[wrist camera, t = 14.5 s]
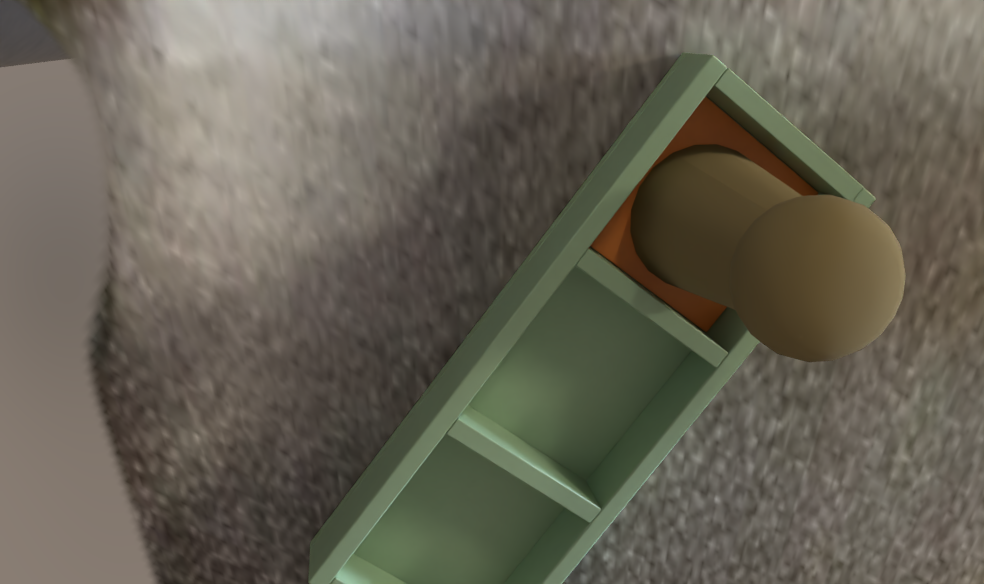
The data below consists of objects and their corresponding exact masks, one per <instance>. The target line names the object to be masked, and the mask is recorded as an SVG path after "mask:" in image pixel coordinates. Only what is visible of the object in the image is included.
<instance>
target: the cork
mask: <svg viewBox="0 0 984 584" xmlns="http://www.w3.org/2000/svg"><path fill="white" fill-rule="evenodd" d="M630 233H631V236H632V240H633V244H634V247H635V251H636V254H637V255H638V257H639V258H640V259H641V261H642V262H643V264H644V265H645V267H646V268H647V269H648V271H649V272H651V273H652V274H654V275H655V276H656V277H658V278H659V279H661V280H662V281H664V282H665V283H667V284H670V285H672V286H675V287H677V288H680V289H682V290H685V291H688V292H690V293H693V294H695V295H698V296H700V297H703V298H706V299H708V300H711V301H713V302H716V303H719V304H721V305H724V306H726V307H729V308H731V309H734V310H736V312H737V314H738V316H739V317H740V319H741V320H742V322H743V323H744V325H745V326H746V328H747V329H748V331H749V332H750V334H751V335H752V336H754V337H755V338H756V339H757V340H759V341H760V342H761V343H763V344H764V345H766V346H767V347H769V348H770V349H771V350H773V351H774V352H776V353H777V354H780V355H784V356H787V357H791V358H795V359H798V360H802V361H807V362H819V361H833V360H836V359H838V358H841V357H844V356H846V355H849V354H851V353H854V352H857V351H859V350H861V349H863V348H864V347H866V346H867V345H868V344H870V343H871V342H872V341H874V340H875V339H876V338H878V337H879V336H880V335H881V334H882V332H883V331H884V330H885V329H886V327H887V326H888V325H889V324H890V322H891V321H892V320H893V319H894V316H895V314H896V312H897V310H898V307H899V305H900V303H901V301H902V298H903V292H904V285H905V278H906V274H905V267H904V262H903V256H902V250H901V246H900V244H899V242H898V241H897V239H896V237H895V235H894V234H893V232H892V230H891V228H890V227H889V226H888V225H887V224H886V223H885V222H884V221H883V220H882V219H881V218H879V217H878V216H877V215H876V214H874V213H873V212H872V211H871V210H869V209H868V208H867V207H866V206H865V205H862V204H859V203H856V202H853V201H850V200H847V199H843V198H840V197H837V196H834V195H808V196H802V195H801V194H799V193H798V192H796V191H795V190H793V189H792V188H790V187H789V186H788V185H786V184H785V183H783V182H782V181H780V180H779V179H777V178H776V177H775V176H773V175H772V174H770V173H769V172H767V171H766V170H764V169H763V168H761V167H760V166H759V165H757V164H756V163H754V162H753V161H751V160H750V159H748V158H747V157H746V156H744V155H743V154H741V153H740V152H738V151H736V150H733V149H730V148H727V147H724V146H721V145H718V144H709V145H693V146H690V147H687V148H684V149H682V150H679V151H676V152H673V153H672V154H670V155H669V156H668V157H666V158H665V159H664V160H662V161H661V162H660V163H658V164H657V165H656V166H655V167H653V169H652V170H651V171H650V173H649V174H648V175H647V177H646V178H645V180H644V181H643V182H642V184H641V185H640V186H639V189H638V192H637V194H636V197H635V200H634V203H633V206H632V209H631V227H630Z"/></svg>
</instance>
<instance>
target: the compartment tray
mask: <svg viewBox="0 0 984 584" xmlns="http://www.w3.org/2000/svg"><path fill="white" fill-rule="evenodd" d="M709 144H718V145H721V146H724V147H727V148H730V149H733V150H736V151H738V152H740V153H741V154H743V155H744V156H746V157H747V158H748V159H750V160H751V161H753V162H754V163H756V164H757V165H759V166H760V167H761V168H763V169H764V170H766V171H767V172H769V173H770V174H772V175H773V176H775V177H776V178H777V179H779V180H780V181H782V182H783V183H785V184H786V185H788V186H789V187H790V188H792V189H793V190H795V191H796V192H798V193H799V194H801V195H802V196H808V195H834V196H837V197H840V198H843V199H847V200H850V201H853V202H856V203H859V204H862V205H865V206H866V207H867V208H869V207H870V206H871V205H872V204H873V202H874V201H875V199H876V198H875V197H874V196H873V195H872V194H871V193H870V192H869V191H867V190H866V189H865V188H863V186H862V185H861V184H860V183H859V182H858V181H856V180H855V179H854V178H853V177H852V176H851V175H850V174H848V173H847V172H846V171H845V170H844V169H843V168H842V167H840V166H839V165H838V164H837V163H836V162H835V161H834V160H833V159H831V158H830V157H829V156H828V155H827V154H826V153H825V152H823V151H822V150H821V149H820V148H819V147H818V146H817V145H815V144H814V143H813V142H812V141H811V140H810V139H809V138H807V137H806V136H805V135H804V134H803V133H802V132H801V131H800V130H798V129H797V128H796V127H795V126H794V125H793V124H792V123H790V122H789V121H788V120H787V119H786V118H785V117H784V116H782V115H781V114H780V113H779V112H778V111H777V110H776V109H774V108H773V107H772V106H771V105H770V104H769V103H768V102H767V101H765V100H764V99H763V98H762V97H761V96H760V95H759V94H757V93H756V92H755V91H754V90H753V89H752V88H751V87H749V86H748V85H747V84H746V83H745V82H744V81H743V80H741V79H740V78H739V77H738V76H737V75H736V74H735V73H734V72H732V71H731V70H730V69H729V68H727V67H726V66H725V65H724V64H723V63H722V62H721V61H719V60H718V59H717V58H716V57H715V56H714V55H707V54H694V53H684V52H683V53H682V54H681V55H680V57H679V58H678V59H677V61H676V62H675V63H674V65H673V66H672V67H671V69H670V70H669V71H668V72H667V74H666V75H665V76H664V78H663V79H662V80H661V82H660V83H659V84H658V86H657V87H656V88H655V90H654V91H653V92H652V94H651V95H650V96H649V97H648V99H647V100H646V101H645V103H644V104H643V105H642V107H641V108H640V109H639V111H638V112H637V113H636V115H635V116H634V117H633V119H632V120H631V121H630V122H629V124H628V125H627V126H626V128H625V129H624V130H623V132H622V133H621V134H620V136H619V137H618V138H617V140H616V141H615V142H614V144H613V145H612V146H611V147H610V149H609V150H608V151H607V153H606V154H605V155H604V157H603V158H602V159H601V161H600V162H599V163H598V165H597V166H596V167H595V169H594V170H593V171H592V172H591V174H590V175H589V176H588V178H587V179H586V180H585V182H584V183H583V184H582V186H581V187H580V188H579V190H578V191H577V192H576V193H575V195H574V196H573V197H572V199H571V200H570V201H569V203H568V204H567V205H566V207H565V208H564V209H563V211H562V212H561V213H560V215H559V216H558V217H557V218H556V220H555V221H554V222H553V224H552V225H551V226H550V228H549V229H548V230H547V232H546V233H545V234H544V236H543V237H542V238H541V240H540V241H539V242H538V243H537V245H536V246H535V247H534V249H533V250H532V251H531V253H530V254H529V255H528V257H527V258H526V259H525V261H524V262H523V263H522V265H521V266H520V267H519V268H518V270H517V271H516V272H515V274H514V275H513V276H512V278H511V279H510V280H509V282H508V283H507V284H506V286H505V287H504V288H503V289H502V291H501V292H500V293H499V295H498V296H497V297H496V299H495V300H494V301H493V303H492V304H491V305H490V307H489V308H488V309H487V311H486V312H485V313H484V314H483V316H482V317H481V318H480V320H479V321H478V322H477V324H476V325H475V326H474V328H473V329H472V330H471V332H470V333H469V334H468V336H467V337H466V338H465V339H464V341H463V342H462V343H461V345H460V346H459V347H458V349H457V350H456V351H455V353H454V354H453V355H452V357H451V358H450V359H449V361H448V362H447V363H446V364H445V366H444V367H443V368H442V370H441V371H440V372H439V374H438V375H437V376H436V378H435V379H434V380H433V382H432V383H431V384H430V386H429V387H428V388H427V389H426V391H425V392H424V393H423V395H422V396H421V397H420V399H419V400H418V401H417V403H416V404H415V405H414V407H413V408H412V409H411V410H410V412H409V413H408V414H407V416H406V417H405V418H404V420H403V421H402V422H401V424H400V425H399V426H398V428H397V429H396V430H395V432H394V433H393V434H392V435H391V437H390V438H389V439H388V441H387V442H386V443H385V445H384V446H383V447H382V449H381V450H380V451H379V453H378V454H377V455H376V457H375V458H374V459H373V460H372V462H371V463H370V464H369V466H368V467H367V468H366V470H365V471H364V472H363V474H362V475H361V476H360V478H359V479H358V480H357V482H356V483H355V484H354V485H353V487H352V488H351V489H350V491H349V492H348V493H347V495H346V496H345V497H344V499H343V500H342V501H341V503H340V504H339V505H338V506H337V508H336V509H335V510H334V512H333V513H332V514H331V516H330V517H329V518H328V520H327V521H326V522H325V524H324V525H323V526H322V528H321V529H320V530H319V531H318V533H317V534H316V535H315V537H314V538H313V539H312V541H311V542H310V559H309V577H308V583H309V584H562V583H563V581H564V580H565V579H566V578H567V577H568V575H569V574H570V573H571V572H572V570H573V569H574V568H575V567H576V566H577V564H578V563H579V562H580V561H581V559H582V558H583V557H584V556H585V555H586V553H587V552H588V551H589V550H590V548H591V547H592V546H593V545H594V544H595V542H596V541H597V540H598V539H599V537H600V536H601V535H602V534H603V533H604V531H605V530H606V529H607V528H608V526H609V525H610V524H611V523H612V522H613V520H614V519H615V518H616V517H617V515H618V514H619V513H620V512H621V511H622V509H623V508H624V507H625V506H626V504H627V503H628V502H629V501H630V500H631V498H632V497H633V496H634V495H635V493H636V492H637V491H638V490H639V489H640V487H641V486H642V485H643V484H644V482H645V481H646V480H647V479H648V478H649V476H650V475H651V474H652V473H653V471H654V470H655V469H656V468H657V467H658V465H659V464H660V463H661V462H662V460H663V459H664V458H665V457H666V456H667V454H668V453H669V452H670V451H671V449H672V448H673V447H674V446H675V444H676V443H677V442H678V441H679V440H680V438H681V437H682V436H683V435H684V433H685V432H686V431H687V430H688V429H689V427H690V426H691V425H692V424H693V422H694V421H695V420H696V419H697V418H698V416H699V415H700V414H701V413H702V411H703V410H704V409H705V408H706V407H707V405H708V404H709V403H710V402H711V400H712V399H713V398H714V397H715V396H716V394H717V393H718V392H719V391H720V389H721V388H722V387H723V386H724V385H725V383H726V382H727V381H728V380H729V378H730V377H731V376H732V375H733V374H734V372H735V371H736V370H737V369H738V367H739V366H740V365H741V364H742V363H743V361H744V360H745V359H746V358H747V356H748V355H749V354H750V353H751V352H752V350H753V349H754V348H755V347H756V345H757V344H758V343H759V342H760V341H759V340H757V339H756V338H755V337H754V336H752V335H751V334H750V332H749V331H748V329H747V328H746V326H745V325H744V323H743V322H742V320H741V319H740V317H739V316H738V314H737V312H736V310H734V309H731V308H729V307H726V306H724V305H721V304H719V303H716V302H713V301H711V300H708V299H706V298H703V297H700V296H698V295H695V294H693V293H690V292H688V291H685V290H682V289H680V288H677V287H675V286H672V285H670V284H667V283H665V282H664V281H662V280H661V279H659V278H658V277H656V276H655V275H654V274H652V273H651V272H649V271H648V269H647V268H646V267H645V265H644V264H643V262H642V261H641V259H640V258H639V257H638V255H637V254H636V251H635V247H634V244H633V240H632V236H631V233H630V227H631V209H632V206H633V203H634V200H635V197H636V194H637V192H638V189H639V186H640V185H641V184H642V182H643V181H644V180H645V178H646V177H647V175H648V174H649V173H650V171H651V170H652V169H653V167H655V166H656V165H657V164H658V163H660V162H661V161H662V160H664V159H665V158H666V157H668V156H669V155H670V154H672V153H673V152H676V151H679V150H682V149H684V148H687V147H690V146H693V145H709Z"/></svg>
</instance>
